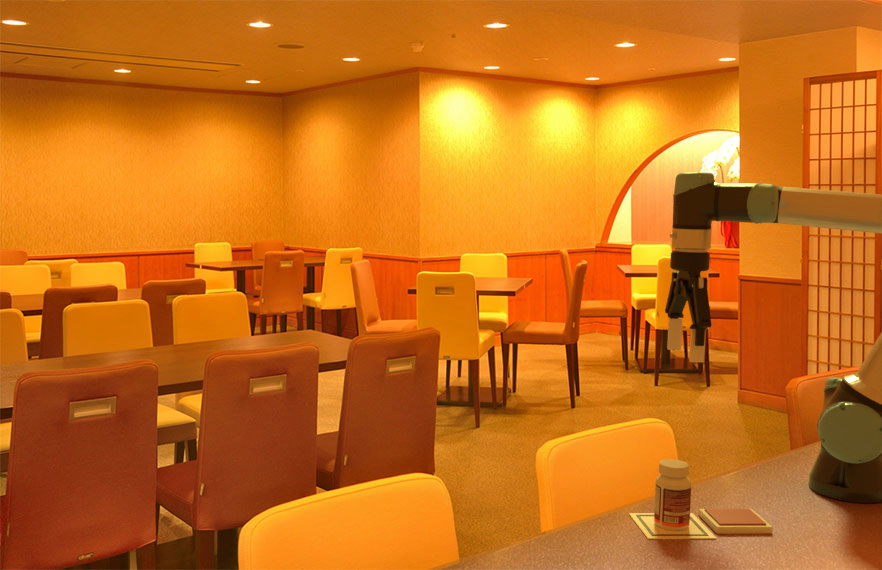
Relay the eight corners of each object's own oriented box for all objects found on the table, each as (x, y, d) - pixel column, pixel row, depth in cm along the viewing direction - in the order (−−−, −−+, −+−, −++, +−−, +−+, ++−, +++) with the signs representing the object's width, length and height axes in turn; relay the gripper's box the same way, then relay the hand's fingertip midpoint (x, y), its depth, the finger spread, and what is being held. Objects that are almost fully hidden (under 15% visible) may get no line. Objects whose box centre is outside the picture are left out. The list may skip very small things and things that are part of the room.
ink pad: (751, 515, 168) (751, 507, 167) (772, 533, 159) (772, 525, 158) (698, 515, 167) (699, 507, 167) (716, 533, 158) (717, 525, 158)
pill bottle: (696, 527, 160) (699, 465, 159) (672, 534, 157) (675, 470, 155) (670, 516, 165) (673, 456, 164) (646, 522, 162) (649, 461, 161)
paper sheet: (692, 514, 167) (692, 512, 167) (716, 539, 155) (716, 537, 155) (628, 514, 166) (628, 512, 166) (648, 539, 155) (648, 537, 154)
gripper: (653, 246, 191) (648, 344, 194) (693, 254, 167) (687, 367, 169) (687, 246, 192) (682, 345, 194) (733, 255, 167) (726, 367, 169)
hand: (684, 355), depth 182 cm, fingers open, 13 cm apart
